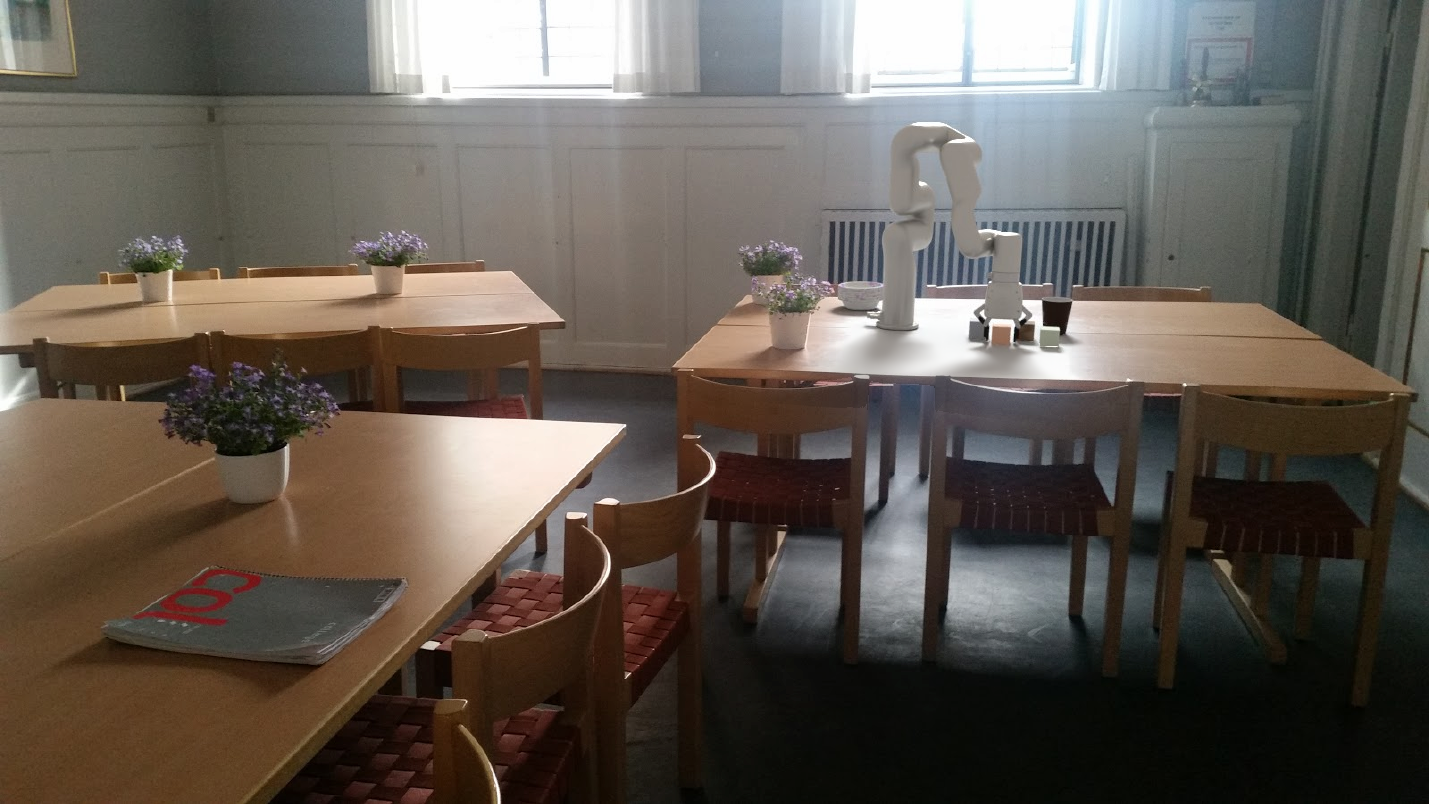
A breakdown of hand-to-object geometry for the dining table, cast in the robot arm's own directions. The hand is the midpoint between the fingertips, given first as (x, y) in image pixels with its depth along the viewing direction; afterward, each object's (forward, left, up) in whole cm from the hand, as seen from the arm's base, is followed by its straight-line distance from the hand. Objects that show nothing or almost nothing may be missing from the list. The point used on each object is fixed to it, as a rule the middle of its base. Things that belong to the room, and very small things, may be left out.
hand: (1000, 340), depth 311 cm
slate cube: (-6, +7, -1) cm, 10 cm away
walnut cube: (+6, +7, -1) cm, 10 cm away
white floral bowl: (-46, +43, -1) cm, 63 cm away
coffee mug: (+16, +20, -1) cm, 25 cm away
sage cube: (+13, 0, -1) cm, 13 cm away
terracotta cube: (0, 0, -1) cm, 1 cm away
